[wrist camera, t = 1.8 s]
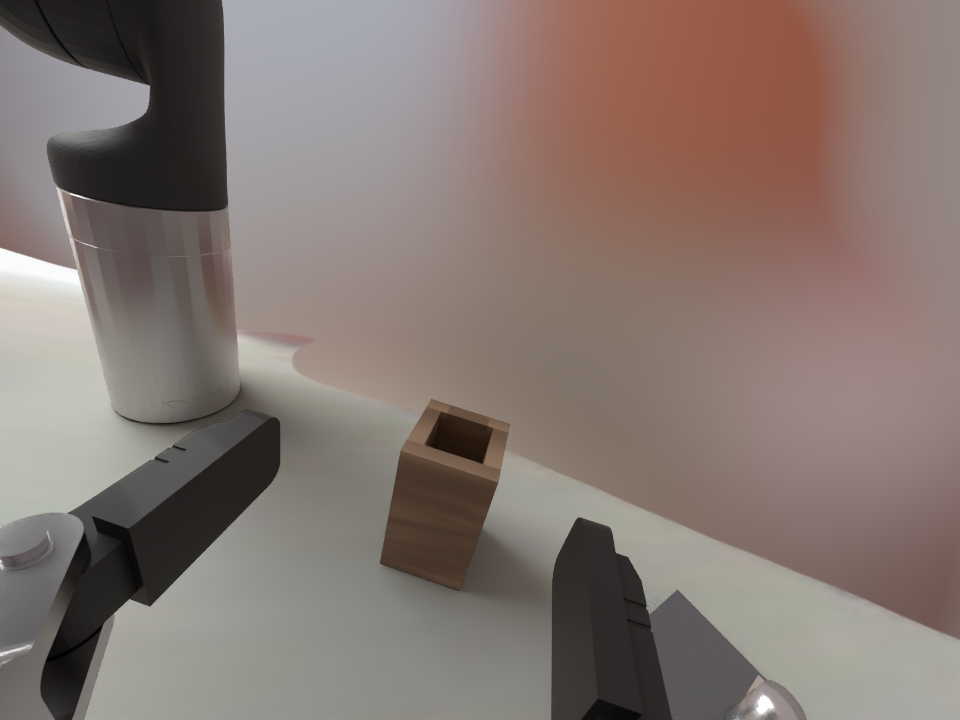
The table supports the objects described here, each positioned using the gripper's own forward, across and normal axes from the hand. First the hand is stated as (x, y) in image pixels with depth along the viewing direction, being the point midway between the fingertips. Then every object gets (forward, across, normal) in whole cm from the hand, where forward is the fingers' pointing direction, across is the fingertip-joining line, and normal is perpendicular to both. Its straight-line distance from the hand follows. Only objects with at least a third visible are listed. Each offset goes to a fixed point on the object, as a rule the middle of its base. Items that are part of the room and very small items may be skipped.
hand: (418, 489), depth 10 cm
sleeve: (+11, 0, +17) cm, 20 cm away
